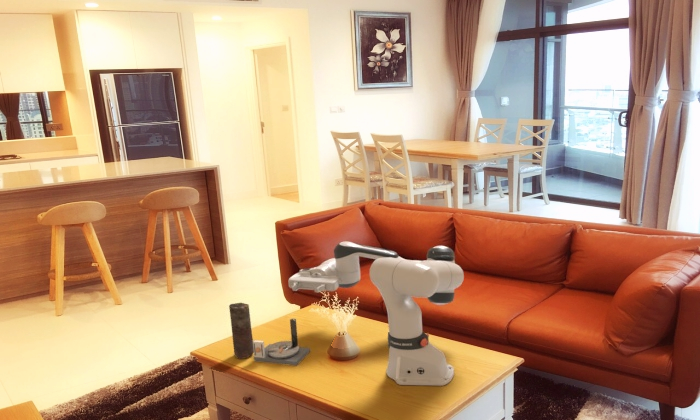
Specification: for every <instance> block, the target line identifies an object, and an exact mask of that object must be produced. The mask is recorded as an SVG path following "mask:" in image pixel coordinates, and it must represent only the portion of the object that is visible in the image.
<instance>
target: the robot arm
mask: <svg viewBox="0 0 700 420" xmlns="http://www.w3.org/2000/svg"><path fill="white" fill-rule="evenodd" d="M333 254H334V257H332V258H330V259H327V260H325V261H323V262H322V263H321V264H320V265H318V266H315V267H311V268H303V269H299V272H297V273H295V274H293V275H291V276H290V277H289V278H288V281H287V282H288V287H289V288H290V289H292V291H293V292H297V291H298V290H311V291H314V293H315V294H316V293H320V292H323V291H325V292H334V291H337V290H338V288H344V289H348V288H349V289H350V288H352V287H354V286H356V285H357V284H359V282H360V281H361V267H360V257H361V258H362V257H363V258H368V259H371V260H372V259H373V260H374V261H373V262H372V263H371V266H370V268H369V278H370V281H371V283H372V284H373V285H374V286H375V287H376V288H377V290H378V291H379V293H380V295H381V297H382V299H383V302H384V305H385V307H386V311H387V312H386V313H387V320H388V332H387V344H388V349H389V353H388V362H387V365H386V366H387V367H386V375H387V377H389V378H390V379H391V380H394V381H395V383H396V384H398V385H399V386H439V387H441V386H445V385H448V384H449V383H450V382H451V381H452V380H453V377H454V375H455V369H454V367H453V365H451V363H450V364H449V363H447V357H446V356H445V353H444V352H443V351H441V349H439V348H437V347H436V346H434V345H433V344H432V343H431V342H429V340H430V339H429V336H430V333H429V332H427V333H426V332H424V331H423V318H422V317H423V316H422V315H423V314H422V310H421V307H420V306H419V305H418V304H417V302H416V301H415V300H414V298H427V299H426V300H428V301H429V303H432V304H434V305H438V306H443V305H447V304H450V303H452V302H453V301H454V299H455V293H456V292H455V289H458V288H459V287H461V285H462V283H463V282H464V278H465V275H464V274H465V273H464V270H463V269H462V267H461V266H460V265H458V264H457V263H456V261H455V259H456V256H455V255H456V254H455V252H454V250H453V249H452V248H451V247H449V246H445V245H436V246H434V247H430V248H429V249H428V250H427V254H426V260H419V259H418V260H417V259H413V260H412V259H405V258H403V257H401V256H399V254H398V253H397V252H396V251H394V250H391V249H386V248H380V247H375V246H370V245H363V244H360V243H357V242H356V243H355V242H353V241H340V242H338V243H337V245H336V246H335V247H334V249H333Z"/></svg>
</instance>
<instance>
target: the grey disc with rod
mask: <svg viewBox="0 0 700 420" xmlns="http://www.w3.org/2000/svg"><path fill="white" fill-rule="evenodd" d="M289 323H290V324H289V325H290V335H291V336H290V339H291V340H284V341H282V340H281V341H278V342H274V343H272V344H271V343H270V344H271V345H270V346H269V347H268V348H267V353H268V356H269V357H270V358H272V359H288V358H291V357H294V356H296V355H297V354H298V353H299V347H300V346H299V341H298V328H297V319H296V318H290V319H289Z"/></svg>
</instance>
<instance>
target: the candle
mask: <svg viewBox="0 0 700 420" xmlns="http://www.w3.org/2000/svg"><path fill="white" fill-rule="evenodd" d="M228 308H229V316H230V317H229V318H230V326H231V333H232V334H231V336H232V344H233V353H234V356H235V358H237V359H238V360H239V359H240V360H243V359H247V358H248V357H250V356H252V355H254V348H253V341H254V340H253V339H254V337H253V331H252V324H251V323H252V321H251V314H250V313H251V311H250V305H249V304H247V303H244V302H236V303H231V304H229V305H228Z"/></svg>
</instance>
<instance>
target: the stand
mask: <svg viewBox="0 0 700 420" xmlns="http://www.w3.org/2000/svg"><path fill="white" fill-rule="evenodd" d="M270 345H271V343H268V344H267V346H265V341H264V340H253V348H254V353H253V361H254V362H259V363H266V364H267V363H268V364H277V365H286V366H288V365H289V366H296V367H297V366H298V365H299V364H300V363H301V362H302V360H304V358H306V357H307V356H308V354H309V353H311V348H310V347H305V346H299V353H298V354H297V355H296V356H294V357H291V358H288V359H272V358H270V357H269V356H268V353H267V348H268V347H269V346H270Z"/></svg>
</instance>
